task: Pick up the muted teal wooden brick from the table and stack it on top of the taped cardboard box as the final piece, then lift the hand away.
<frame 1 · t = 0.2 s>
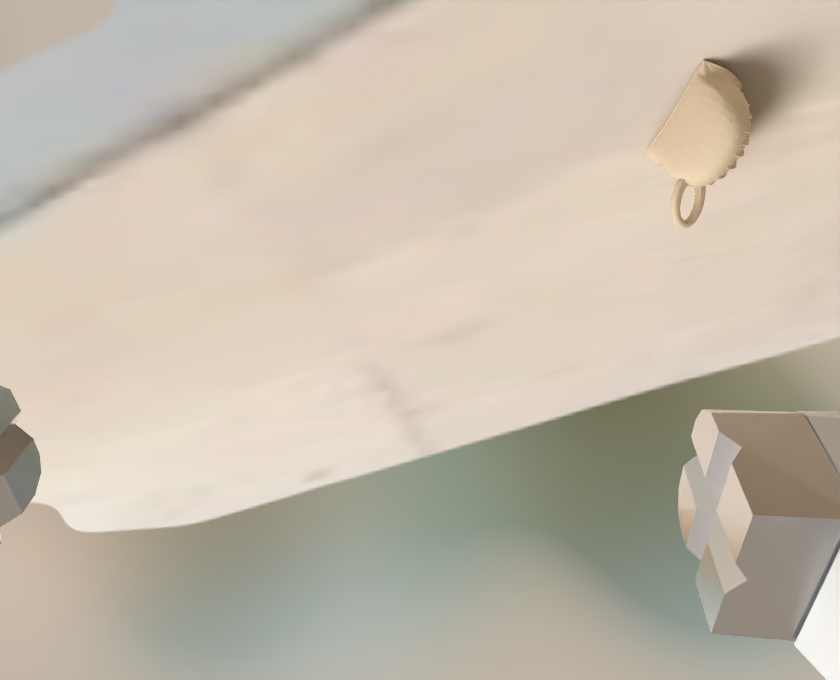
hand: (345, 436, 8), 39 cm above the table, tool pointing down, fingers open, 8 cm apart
decorative ornament: (690, 126, 45), on the table
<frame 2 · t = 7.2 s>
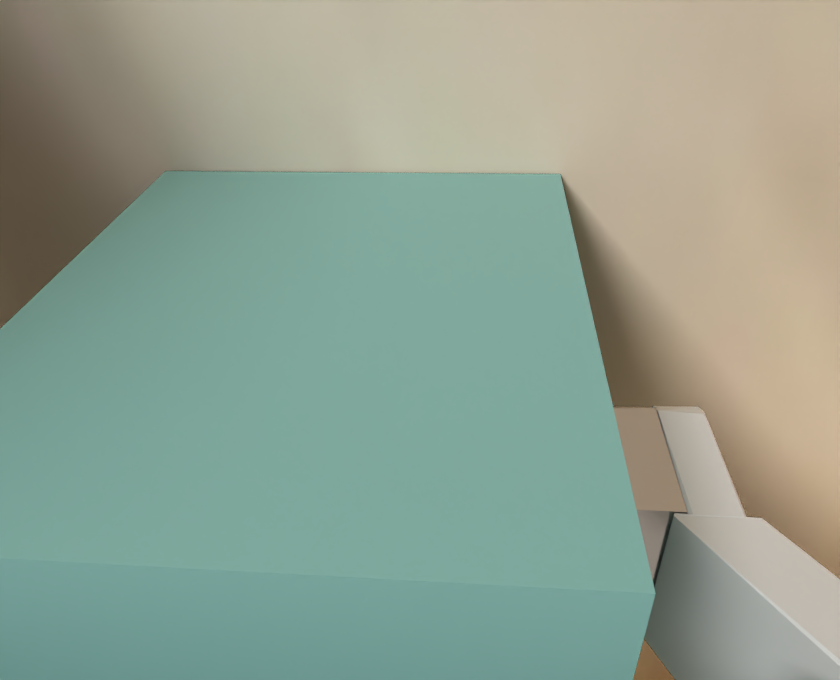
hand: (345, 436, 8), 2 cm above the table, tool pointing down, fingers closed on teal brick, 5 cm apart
teal brick: (370, 337, 10), on the table, touching gripper
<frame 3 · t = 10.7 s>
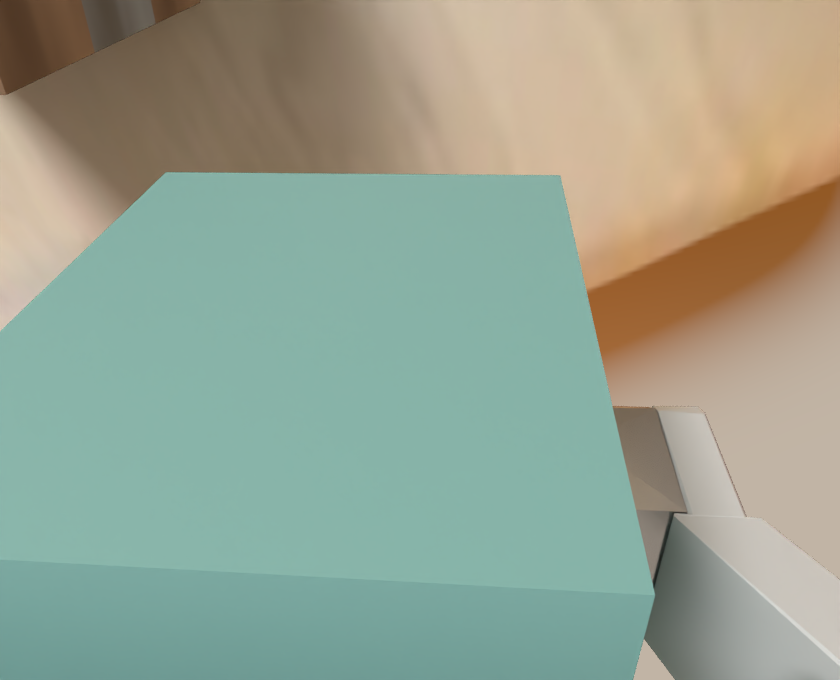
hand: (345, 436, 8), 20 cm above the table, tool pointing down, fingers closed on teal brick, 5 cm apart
teal brick: (370, 338, 10), point 18 cm above the table, touching gripper
when the fingers open (16 cm above the table, at t = 14.5 s): teal brick drops 1 cm, resting on taped cardboard box.
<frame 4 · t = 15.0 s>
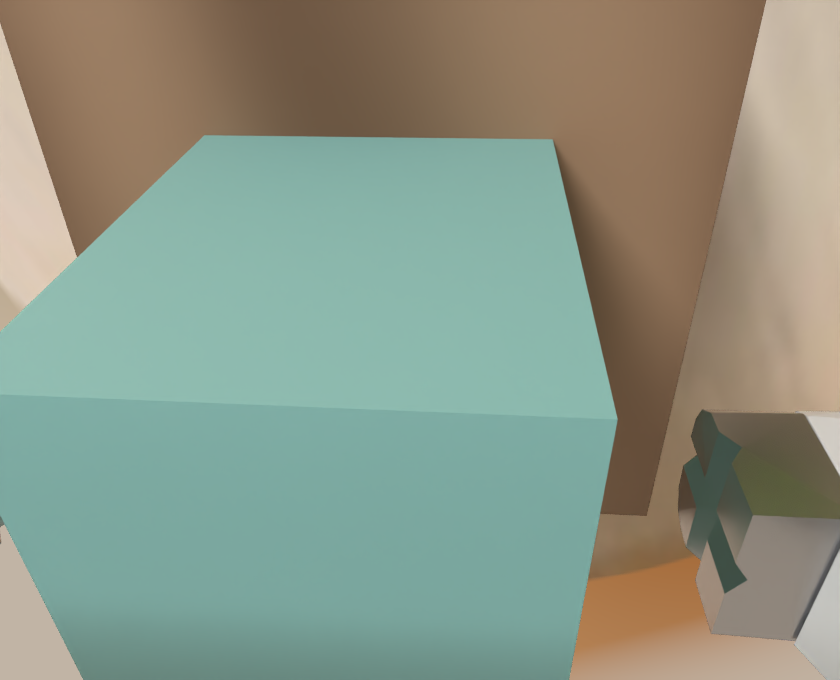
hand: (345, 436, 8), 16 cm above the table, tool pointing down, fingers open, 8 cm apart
teal brick: (383, 289, 11), point 12 cm above the table, touching taped cardboard box
taped cardboard box: (430, 90, 21), on the table
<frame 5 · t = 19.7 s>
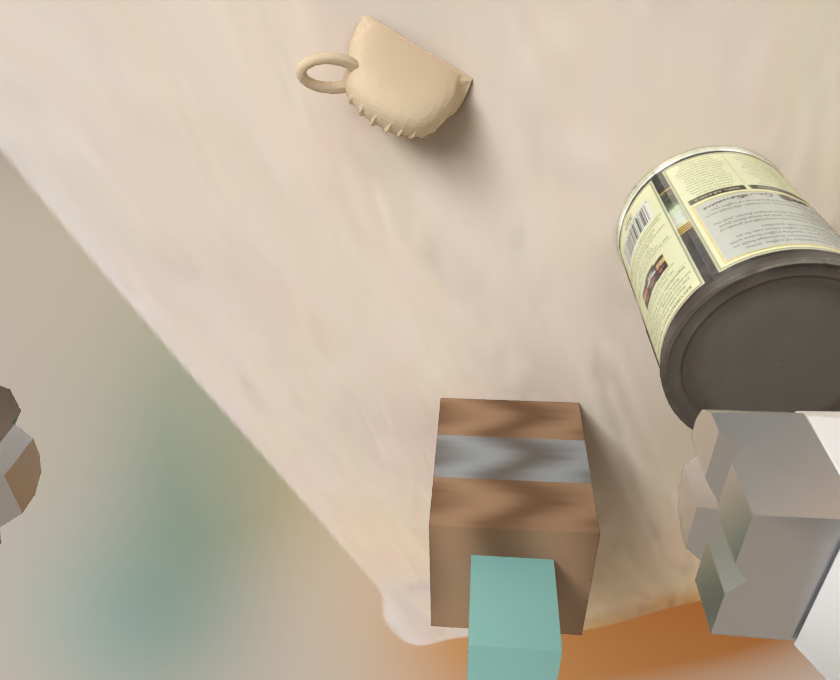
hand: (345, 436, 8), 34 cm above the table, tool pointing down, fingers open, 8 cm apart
teal brick: (510, 583, 44), point 12 cm above the table, touching taped cardboard box
coffee can: (702, 225, 43), on the table
taped cardboard box: (506, 451, 54), on the table
decorative ornament: (395, 69, 39), on the table
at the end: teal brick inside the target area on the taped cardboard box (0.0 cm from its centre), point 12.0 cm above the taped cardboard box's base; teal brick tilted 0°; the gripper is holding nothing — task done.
